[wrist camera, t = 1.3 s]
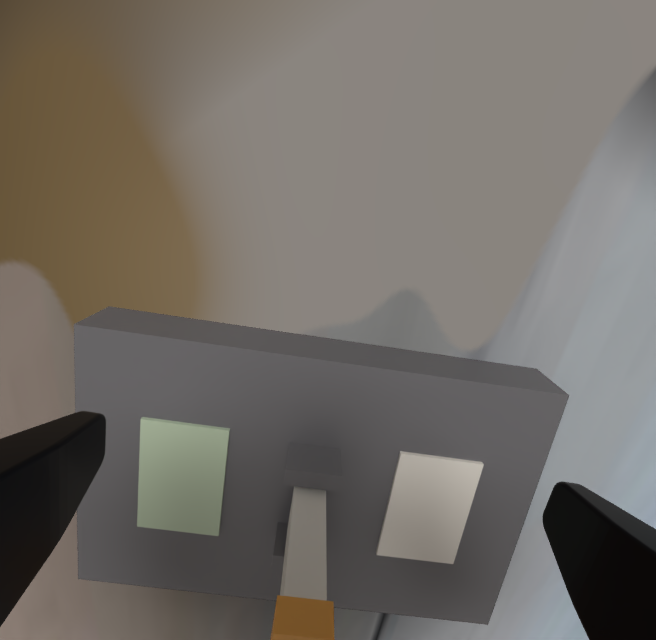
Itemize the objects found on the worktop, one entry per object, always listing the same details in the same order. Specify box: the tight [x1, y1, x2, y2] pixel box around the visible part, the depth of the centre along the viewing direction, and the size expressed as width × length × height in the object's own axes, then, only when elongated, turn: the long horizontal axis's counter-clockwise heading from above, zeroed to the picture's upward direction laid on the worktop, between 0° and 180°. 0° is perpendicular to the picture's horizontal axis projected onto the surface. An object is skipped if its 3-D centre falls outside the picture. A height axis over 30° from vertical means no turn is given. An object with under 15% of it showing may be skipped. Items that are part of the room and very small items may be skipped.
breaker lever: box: [270, 486, 334, 640], centre depth 16 cm, size 3×2×8 cm, turn 171°
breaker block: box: [74, 307, 569, 625], centre depth 21 cm, size 14×22×5 cm, turn 81°
